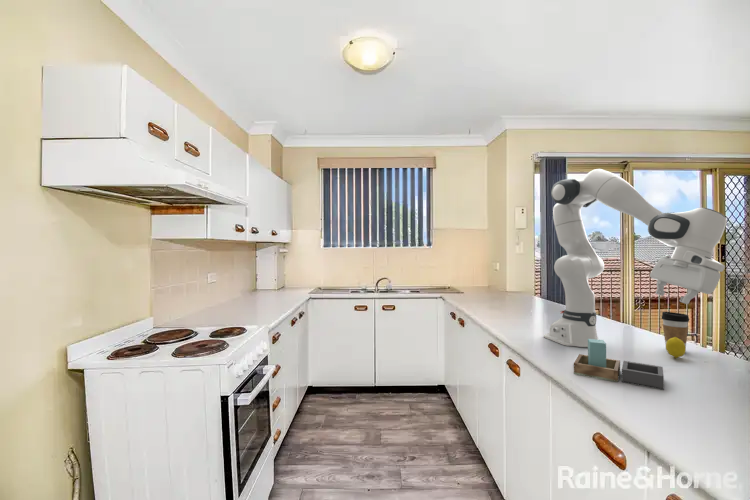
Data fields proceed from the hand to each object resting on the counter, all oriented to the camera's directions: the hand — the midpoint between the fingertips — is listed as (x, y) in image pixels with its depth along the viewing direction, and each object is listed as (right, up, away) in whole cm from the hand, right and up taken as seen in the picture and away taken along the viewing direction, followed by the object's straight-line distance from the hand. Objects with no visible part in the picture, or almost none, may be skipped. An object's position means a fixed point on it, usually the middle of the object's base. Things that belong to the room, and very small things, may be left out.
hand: (670, 298), depth 110 cm
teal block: (-20, -25, +5) cm, 33 cm away
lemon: (+17, -25, +18) cm, 35 cm away
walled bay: (-20, -26, +5) cm, 33 cm away
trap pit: (-11, -25, -2) cm, 28 cm away
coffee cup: (+26, -25, +27) cm, 45 cm away
